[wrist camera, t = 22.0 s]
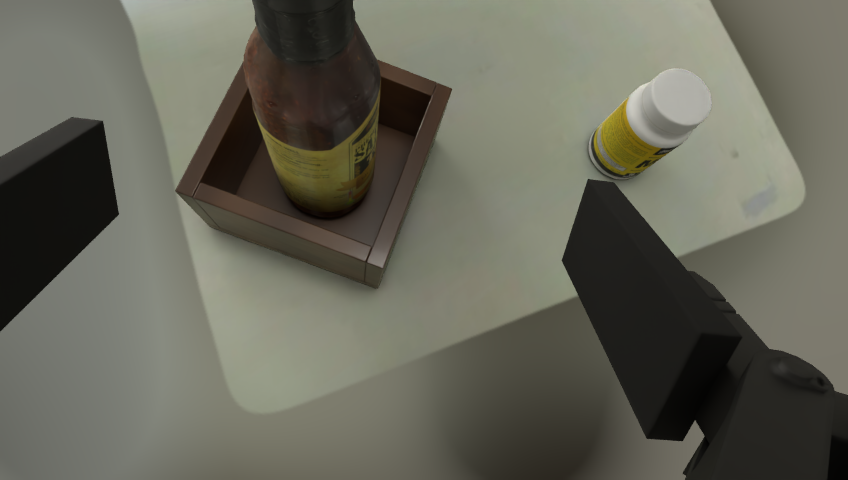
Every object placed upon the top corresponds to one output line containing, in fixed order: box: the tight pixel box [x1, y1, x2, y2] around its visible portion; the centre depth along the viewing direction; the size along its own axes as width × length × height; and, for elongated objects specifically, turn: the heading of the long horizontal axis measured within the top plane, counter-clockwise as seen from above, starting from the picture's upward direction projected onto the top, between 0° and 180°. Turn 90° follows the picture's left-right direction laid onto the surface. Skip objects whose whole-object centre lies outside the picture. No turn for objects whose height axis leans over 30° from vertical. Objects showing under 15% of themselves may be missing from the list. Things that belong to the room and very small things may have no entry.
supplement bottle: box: [589, 68, 712, 179], centre depth 36 cm, size 5×5×8 cm
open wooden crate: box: [175, 60, 452, 289], centre depth 33 cm, size 12×12×7 cm
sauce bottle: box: [243, 0, 381, 218], centre depth 26 cm, size 7×6×20 cm
